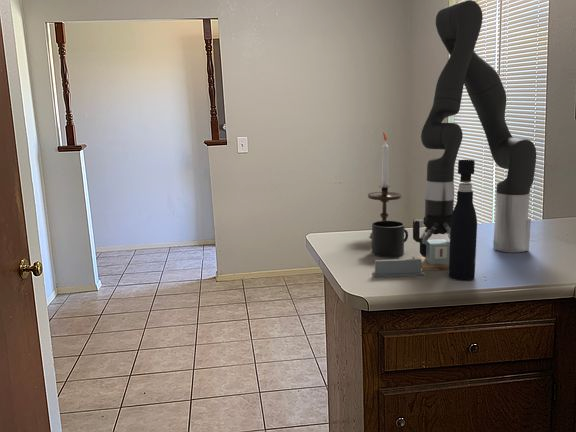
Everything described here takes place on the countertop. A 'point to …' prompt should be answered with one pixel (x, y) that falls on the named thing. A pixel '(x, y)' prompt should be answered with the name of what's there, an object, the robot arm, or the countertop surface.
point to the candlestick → (384, 185)
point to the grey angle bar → (398, 268)
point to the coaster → (427, 266)
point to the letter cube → (437, 251)
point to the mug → (388, 238)
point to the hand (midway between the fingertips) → (437, 255)
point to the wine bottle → (463, 228)
